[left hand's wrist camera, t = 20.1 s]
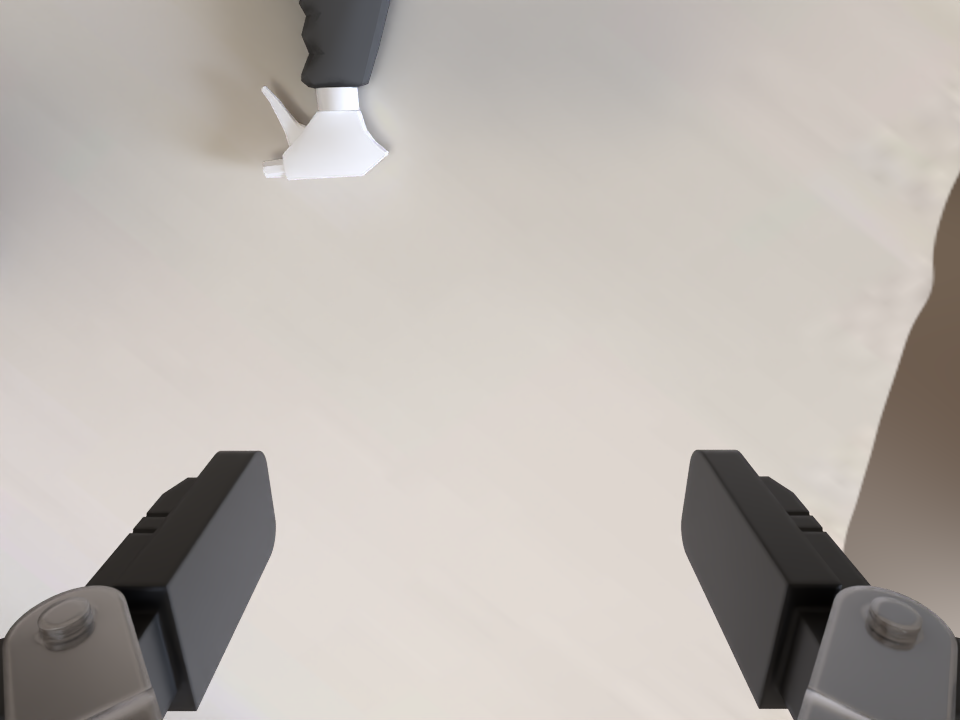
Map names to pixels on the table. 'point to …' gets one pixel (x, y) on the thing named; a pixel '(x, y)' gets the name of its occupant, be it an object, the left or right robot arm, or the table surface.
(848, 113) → the table surface
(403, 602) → the table surface
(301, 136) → the spray bottle
